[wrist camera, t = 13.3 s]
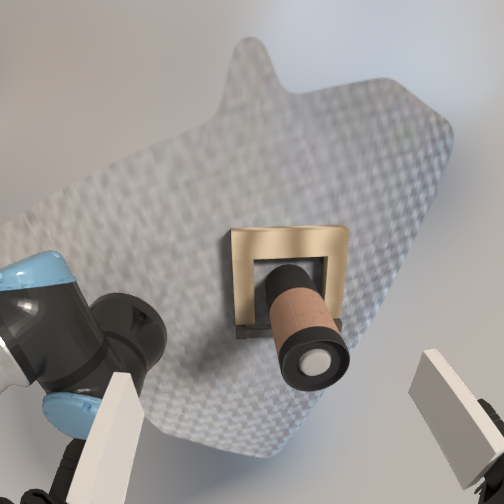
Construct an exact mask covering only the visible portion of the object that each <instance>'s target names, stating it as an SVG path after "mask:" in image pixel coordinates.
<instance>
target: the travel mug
mask: <svg viewBox="0 0 504 504" xmlns="http://www.w3.org/2000/svg"><path fill="white" fill-rule="evenodd" d="M266 296H267V304H268V311H269V318H270V323H271V327H272V332H273V336H274V341H275V346H276V350H277V355H278V360H279V364H280V369H281V374H282V376H283V379H284V381H285V382H286V383H287V384H288V385H289V386H290V387H292V388H294V389H296V390H299V391H307V392H310V391H318V390H322V389H325V388H327V387H329V386H331V385H333V384H334V383H336V382H337V381H338V380H339V379H340V378H342V376H343V375H344V374H345V372H346V371H347V369H348V366H349V362H350V355H349V352H348V349H347V347H346V345H345V343H344V341H343V339H342V337H341V335H340V333H339V331H338V328H337V326H336V324H335V322H334V320H333V318H332V316H331V314H330V312H329V310H328V308H327V306H326V304H325V302H324V300H323V299H322V297H321V295H320V294H319V292H318V290H317V289H316V287H315V285H314V284H313V282H312V281H311V279H310V277H309V276H308V274H307V273H306V272H305V270H303V269H302V268H301V267H299V266H296V265H291V264H287V265H282V266H279V267H277V268H276V269H274V270H273V271H272V272H271V273H270V274H269V276H268V278H267V280H266Z"/></svg>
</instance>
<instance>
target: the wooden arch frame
mask: <svg viewBox="0 0 504 504" xmlns="http://www.w3.org/2000/svg"><path fill="white" fill-rule="evenodd" d="M348 239H349V229H348V228H347V227H345V226H344V225H319V226H282V227H252V228H231V242H232V263H233V284H234V303H235V321H236V339H247V338H255V337H272V336H273V332H272V327H271V324H269V325H253V324H255V308H254V261H253V259H275V258H298V257H321V256H323V270H322V284H321V297H322V299H323V300H324V302H325V304H326V306H327V308H328V310H329V312H330V314H331V316H332V318H333V320H334V322H335V324H336V326H337V328H338V331H339V332H341V329H342V322H341V320H340V316H341V308H342V300H343V291H344V282H345V273H346V262H347V251H348ZM246 325H251V326H246Z"/></svg>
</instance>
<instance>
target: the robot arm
mask: <svg viewBox="0 0 504 504" xmlns="http://www.w3.org/2000/svg"><path fill="white" fill-rule="evenodd" d="M76 281H77V279H76V278H75V277H74V276H73V275H72V273H71V271H70V269H69V267H68V265H67V263H66V261H65V260H64V258H63V256H62V255H61V254H60V253H58V252H56V251H53V250H49V251H45V252H41V253H38V254H35V255H33V256H30V257H27V258H25V259H22V260H20V261H17V262H15V263H13V264H10V265H8V266H6V267H3V268H1V269H0V394H1V393H2V392H3V391H4V390H5V389H6V388H8V386H10V385H18V386H23V387H29V386H30V385H31V384H32V383H33V382H34V381H35V380H37V381H38V382H39V384H40V385H41V386H42V388H43V389H44V390H45V392H46V394H47V395H46V396H44V398H43V404H42V407H43V412H44V415H45V416H46V418H47V419H48V421H50V423H51V424H53V426H55V427H56V428H57V429H58V430H60V431H61V432H63V433H64V434H66V435H68V436H70V437H72V438H74V439H73V440H72V441H71V442H70V444H69V445H68V446H67V447H66V450H65V452H64V455H63V459H62V460H61V462H60V467H59V468H58V470H57V473H56V475H55V478H54V481H53V484H52V486H51V489H50V492H49V494H47V493H46V492H44V491H43V490H40V489H30V490H28V491H27V492H25V493H24V495H23V496H22V497H21V502H20V504H124V502H125V497H126V492H127V487H128V483H129V478H130V473H131V469H132V465H133V460H134V456H135V451H136V447H137V443H138V439H139V435H140V431H141V427H142V423H143V419H144V415H145V414H144V411H143V409H142V406H141V403H140V401H139V397H140V393H141V390H142V386H143V383H144V379H145V376H146V374H147V372H148V371H149V370H150V369H151V368H152V367H153V366H154V365H155V364H156V363H157V362H158V361H159V360H160V359H161V357H162V355H163V353H164V350H165V346H166V343H167V332H166V328H165V325H164V323H163V321H162V319H161V317H160V316H159V314H158V313H157V312H156V311H155V310H154V309H153V308H152V307H151V306H150V305H149V304H147V303H146V302H144V301H143V300H141V299H139V298H137V297H135V296H132V295H129V294H124V293H110V294H106V295H104V296H101V297H100V298H98V299H97V300H96V301H95V302H94V303H93V304H92V306H91V307H90V308H89V306H88V304H87V302H86V300H85V298H84V296H83V294H82V292H81V290H80V288H79V286H78V284H77V282H76ZM408 393H409V394H410V396H411V397H412V399H413V401H414V402H415V404H416V406H417V408H418V409H419V411H420V413H421V415H422V416H423V418H424V420H425V421H426V423H427V425H428V426H429V428H430V430H431V432H432V434H433V435H434V437H435V439H436V441H437V442H438V444H439V446H440V448H441V450H442V451H443V453H444V455H445V457H446V459H447V460H448V462H449V464H450V466H451V468H452V470H453V472H454V474H455V476H456V477H457V479H458V481H459V483H460V485H461V487H462V489H463V490H465V489H467V488H468V487H470V486H472V485H474V484H476V483H477V482H478V481H479V480H480V479H481V478H482V477H483V476H484V478H485V481H484V482H483V483H482V484H481V485H480V486H479V487H478V488H477V489H476V490H475V492H474V494H476V493H477V492H478V491H479V490H481V489H482V490H481V492H480V493H479V495H480V498H479V502H478V504H504V422H503V421H502V420H500V417H499V416H498V414H496V412H495V410H494V409H493V408H492V406H491V405H490V404H489V403H487V402H486V401H485V400H483V399H479V400H476V399H475V397H474V396H473V395H472V393H471V392H470V391H469V389H468V388H467V387H466V386H465V384H464V383H463V382H462V380H461V379H460V378H459V377H458V375H457V374H456V373H455V372H454V370H453V369H452V368H451V367H450V365H449V364H448V363H447V362H446V360H445V359H444V358H443V357H442V355H441V354H440V353H439V352H438V351H437V349H436V348H435V349H430V350H426V351H423V353H422V356H421V359H420V362H419V365H418V368H417V371H416V374H415V376H414V379H413V381H412V384H411V387H410V389H409V392H408ZM0 504H14V503H12V502H11V501H10V500H8V499H7V498H4V497H0Z"/></svg>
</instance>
